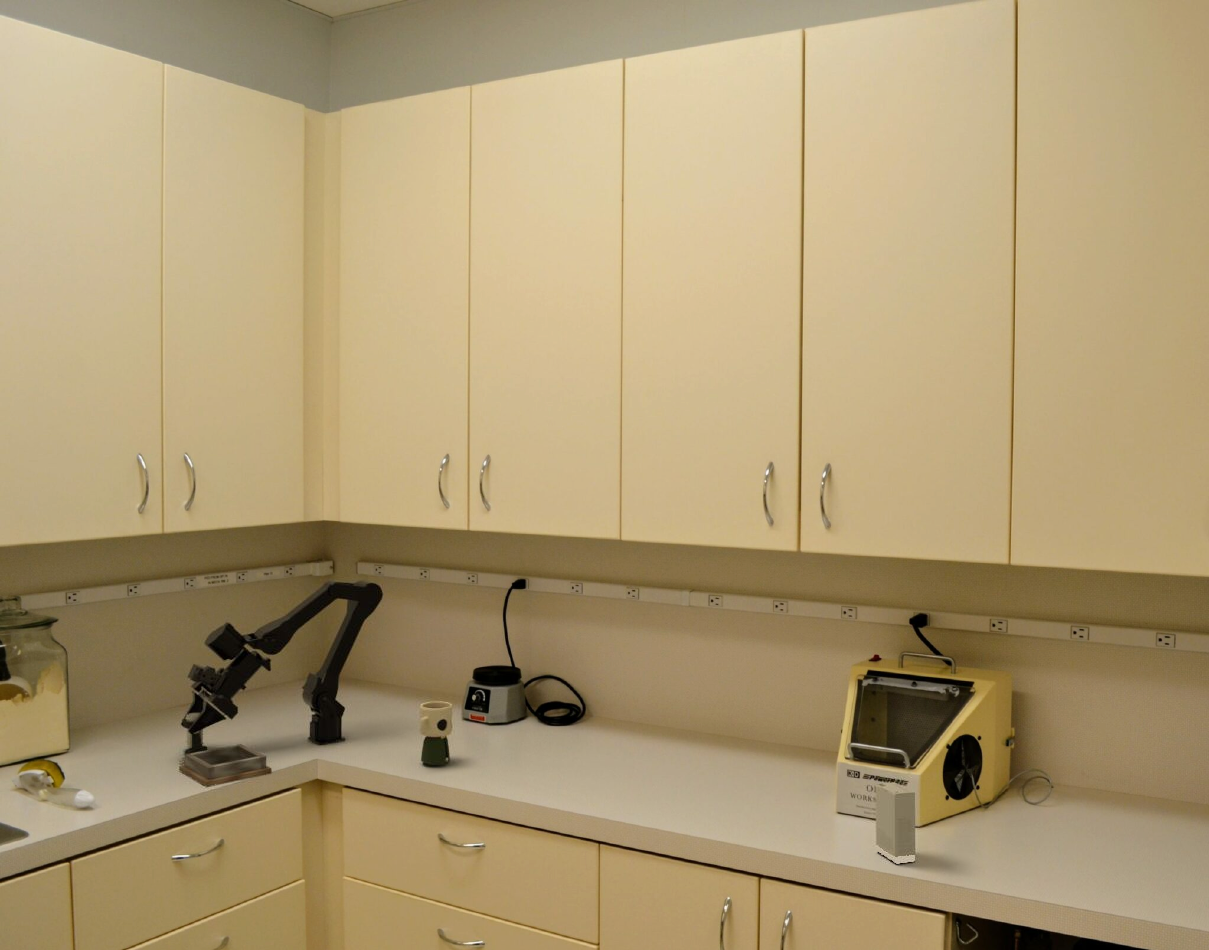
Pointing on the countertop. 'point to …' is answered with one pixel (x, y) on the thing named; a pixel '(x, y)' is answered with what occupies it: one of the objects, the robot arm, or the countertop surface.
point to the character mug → (435, 731)
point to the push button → (192, 736)
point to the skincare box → (895, 819)
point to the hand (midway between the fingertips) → (185, 729)
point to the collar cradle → (224, 765)
